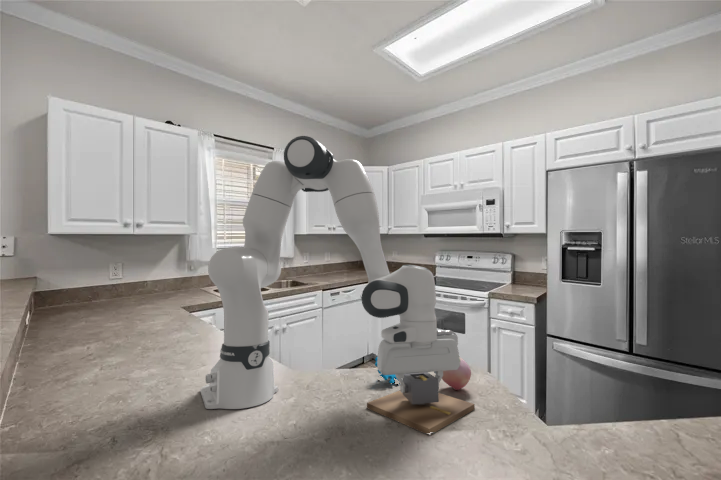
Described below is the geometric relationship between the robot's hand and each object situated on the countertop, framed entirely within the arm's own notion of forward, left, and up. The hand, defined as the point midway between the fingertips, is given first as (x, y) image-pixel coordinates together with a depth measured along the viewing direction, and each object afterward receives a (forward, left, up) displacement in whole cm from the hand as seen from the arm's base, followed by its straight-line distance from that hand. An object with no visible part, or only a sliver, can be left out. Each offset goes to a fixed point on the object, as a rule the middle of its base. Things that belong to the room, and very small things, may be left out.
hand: (419, 390), depth 77 cm
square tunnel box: (0, 0, -2) cm, 2 cm away
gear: (-18, +9, -4) cm, 21 cm away
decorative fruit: (-1, +17, -4) cm, 18 cm away
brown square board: (0, 0, -4) cm, 4 cm away
